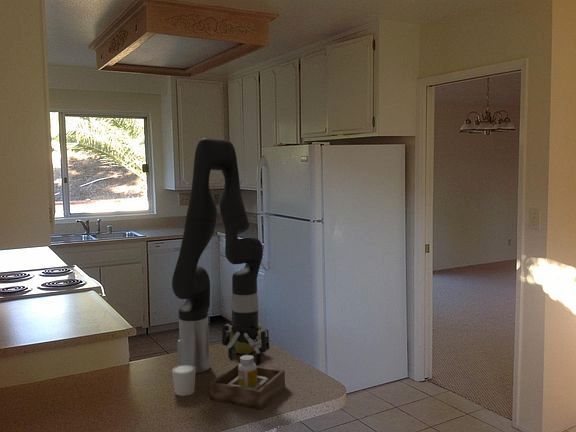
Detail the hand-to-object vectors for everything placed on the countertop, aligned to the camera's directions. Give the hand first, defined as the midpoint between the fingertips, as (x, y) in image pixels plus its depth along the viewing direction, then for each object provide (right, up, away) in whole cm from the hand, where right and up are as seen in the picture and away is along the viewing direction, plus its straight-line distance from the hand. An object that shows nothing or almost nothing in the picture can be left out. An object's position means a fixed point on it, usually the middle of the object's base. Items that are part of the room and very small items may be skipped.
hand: (245, 362), depth 158 cm
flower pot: (-3, -6, +34) cm, 35 cm away
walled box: (+1, -9, +1) cm, 9 cm away
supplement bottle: (+1, -8, +1) cm, 9 cm away
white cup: (-18, -10, +3) cm, 21 cm away
